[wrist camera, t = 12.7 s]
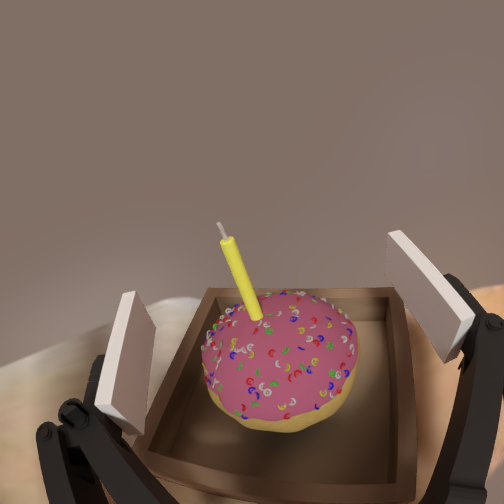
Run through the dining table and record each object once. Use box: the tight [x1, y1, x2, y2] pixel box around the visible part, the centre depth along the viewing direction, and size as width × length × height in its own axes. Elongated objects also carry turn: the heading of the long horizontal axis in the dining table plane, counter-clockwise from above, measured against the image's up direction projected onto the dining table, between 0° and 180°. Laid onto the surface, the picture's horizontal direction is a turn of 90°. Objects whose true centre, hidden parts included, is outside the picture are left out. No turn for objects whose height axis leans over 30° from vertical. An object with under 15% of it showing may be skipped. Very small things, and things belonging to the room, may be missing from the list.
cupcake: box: [201, 222, 361, 433], centre depth 15 cm, size 9×8×12 cm
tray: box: [132, 287, 417, 504], centre depth 18 cm, size 15×15×4 cm
